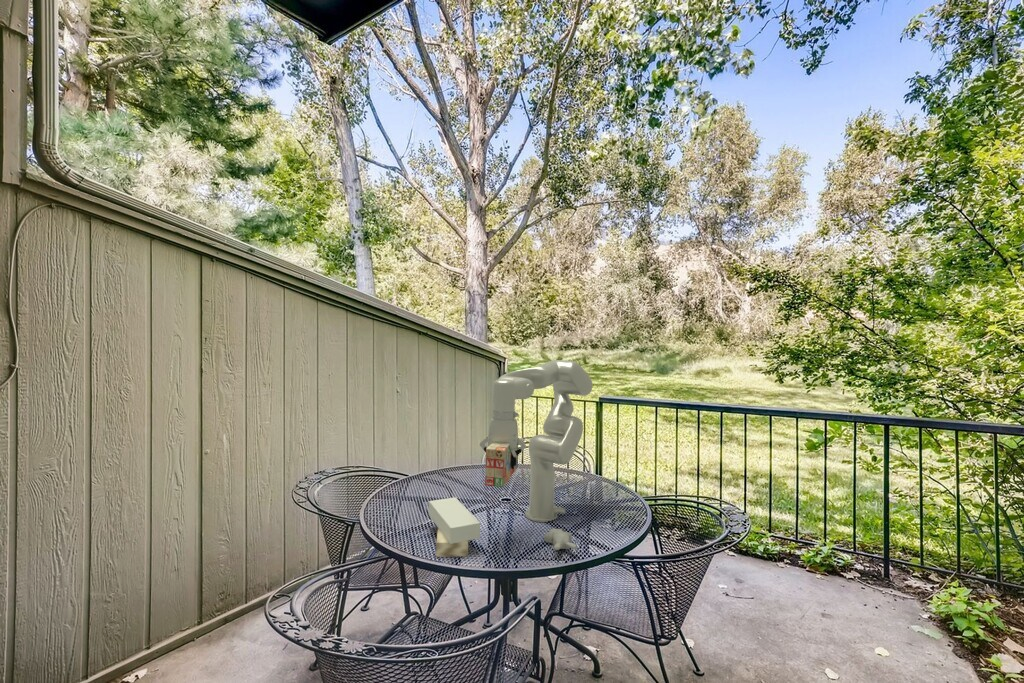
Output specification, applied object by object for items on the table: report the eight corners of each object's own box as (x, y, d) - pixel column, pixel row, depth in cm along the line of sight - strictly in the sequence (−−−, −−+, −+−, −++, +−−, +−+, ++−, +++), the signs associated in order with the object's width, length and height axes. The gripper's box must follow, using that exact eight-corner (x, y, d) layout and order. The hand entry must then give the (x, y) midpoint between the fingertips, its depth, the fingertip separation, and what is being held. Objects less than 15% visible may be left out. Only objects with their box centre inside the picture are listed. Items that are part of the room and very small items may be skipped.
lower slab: (466, 524, 167) (466, 511, 166) (467, 557, 143) (468, 542, 143) (439, 525, 165) (439, 511, 165) (435, 558, 142) (436, 542, 141)
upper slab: (454, 510, 167) (455, 497, 167) (479, 538, 145) (480, 522, 145) (428, 514, 162) (429, 501, 162) (450, 543, 141) (450, 528, 141)
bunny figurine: (567, 525, 159) (580, 539, 144) (567, 539, 159) (580, 556, 144) (541, 525, 158) (551, 540, 143) (541, 541, 157) (551, 557, 142)
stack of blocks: (501, 465, 166) (502, 432, 166) (518, 467, 165) (519, 434, 164) (484, 485, 145) (485, 448, 145) (503, 487, 144) (504, 449, 144)
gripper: (529, 414, 157) (527, 465, 157) (480, 412, 158) (478, 462, 159) (528, 418, 149) (526, 472, 150) (476, 416, 151) (475, 469, 151)
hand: (502, 466), depth 154 cm, fingers closed on stack of blocks, 6 cm apart
